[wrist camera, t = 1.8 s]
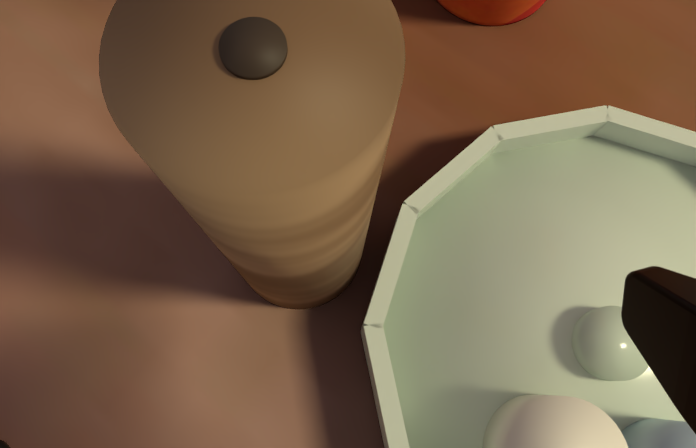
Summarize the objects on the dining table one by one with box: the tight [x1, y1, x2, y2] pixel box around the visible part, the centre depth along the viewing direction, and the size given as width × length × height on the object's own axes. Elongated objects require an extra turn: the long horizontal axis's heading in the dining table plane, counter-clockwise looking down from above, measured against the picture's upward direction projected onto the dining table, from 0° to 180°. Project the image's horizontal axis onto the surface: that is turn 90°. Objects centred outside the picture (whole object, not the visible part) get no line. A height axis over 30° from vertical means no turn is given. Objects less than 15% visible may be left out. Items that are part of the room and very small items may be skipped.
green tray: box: [361, 105, 696, 448], centre depth 19 cm, size 16×16×2 cm
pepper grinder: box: [99, 0, 405, 309], centre depth 14 cm, size 4×4×13 cm
